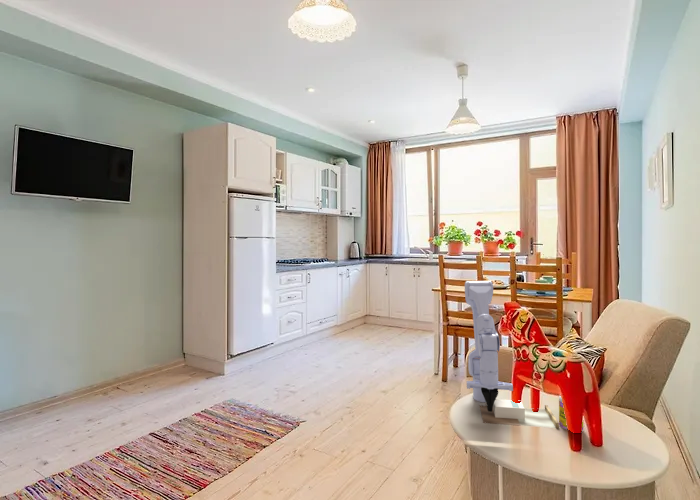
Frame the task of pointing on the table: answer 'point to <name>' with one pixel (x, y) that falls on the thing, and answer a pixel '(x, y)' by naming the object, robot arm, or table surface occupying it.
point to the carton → (508, 409)
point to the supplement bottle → (563, 415)
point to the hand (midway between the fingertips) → (489, 410)
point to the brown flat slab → (531, 419)
